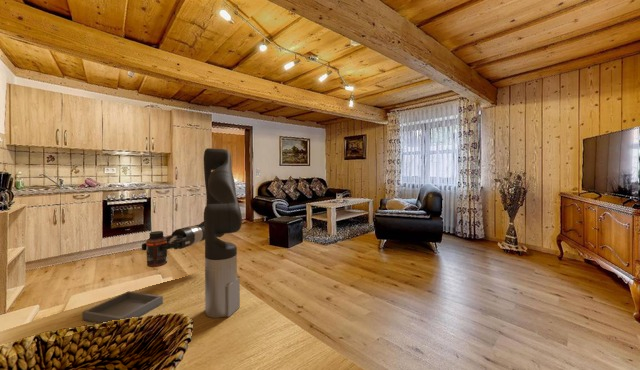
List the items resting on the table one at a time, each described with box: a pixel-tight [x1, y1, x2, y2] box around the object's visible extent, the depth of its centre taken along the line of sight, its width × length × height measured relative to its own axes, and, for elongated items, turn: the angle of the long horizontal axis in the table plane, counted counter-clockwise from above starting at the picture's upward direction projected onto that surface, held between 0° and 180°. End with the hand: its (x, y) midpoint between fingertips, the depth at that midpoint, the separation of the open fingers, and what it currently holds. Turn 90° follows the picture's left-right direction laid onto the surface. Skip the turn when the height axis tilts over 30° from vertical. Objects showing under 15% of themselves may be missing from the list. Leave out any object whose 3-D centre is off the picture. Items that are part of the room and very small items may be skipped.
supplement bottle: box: [145, 230, 168, 268], centre depth 89 cm, size 6×6×11 cm
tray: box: [81, 291, 164, 324], centre depth 80 cm, size 14×14×2 cm
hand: (150, 248), depth 87 cm, fingers closed on supplement bottle, 6 cm apart
